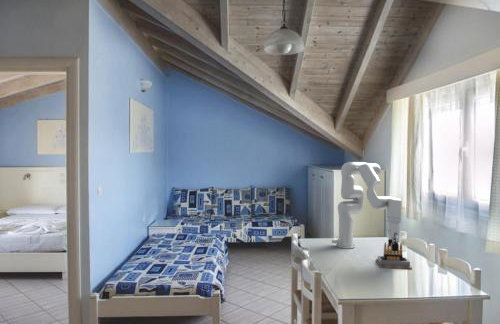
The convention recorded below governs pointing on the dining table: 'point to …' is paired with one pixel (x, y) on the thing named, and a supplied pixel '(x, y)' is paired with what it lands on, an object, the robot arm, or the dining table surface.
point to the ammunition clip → (392, 253)
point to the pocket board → (393, 263)
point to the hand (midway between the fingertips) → (392, 248)
